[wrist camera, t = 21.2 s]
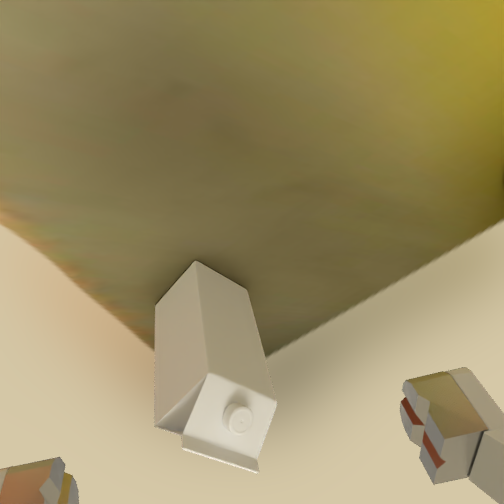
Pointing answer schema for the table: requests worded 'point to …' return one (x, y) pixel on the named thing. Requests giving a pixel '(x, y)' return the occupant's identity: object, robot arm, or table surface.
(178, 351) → the milk carton
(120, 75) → the table surface
